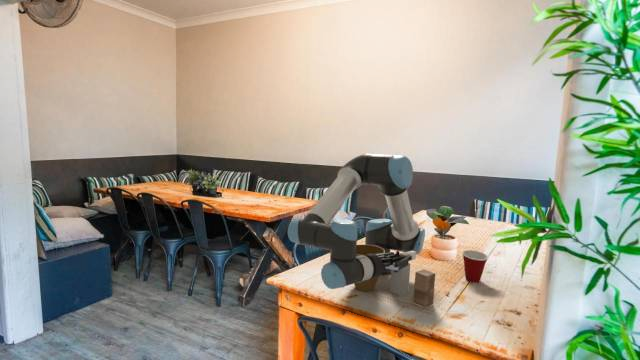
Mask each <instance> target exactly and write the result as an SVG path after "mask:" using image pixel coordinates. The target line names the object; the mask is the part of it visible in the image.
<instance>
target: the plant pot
mask: <svg viewBox="0 0 640 360" xmlns="http://www.w3.org/2000/svg"><path fill="white" fill-rule="evenodd" d="M370 253H373V254H380V253H385V250H384V249H383V248H381V247H378V246H374V245H365V243H364V244H361V243H359V244H357V247H356V257H357V256H361V255H366V254H370ZM379 277H380V276H378V277H376V278H372V279H368V280H365V281H361V282H360V283H354V284H353V285H354V287H355V289H356V290H358V291H360V292H372V291H374V290H375V288H376V285H377V282H378V279H379Z"/></svg>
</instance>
